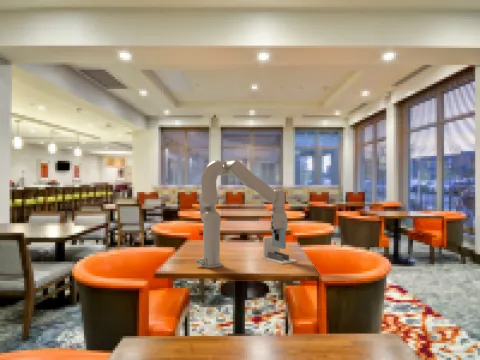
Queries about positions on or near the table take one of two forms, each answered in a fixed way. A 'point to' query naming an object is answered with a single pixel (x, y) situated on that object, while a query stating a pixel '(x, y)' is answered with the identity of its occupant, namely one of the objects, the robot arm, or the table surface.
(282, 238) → the door panel
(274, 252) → the cabinet base
